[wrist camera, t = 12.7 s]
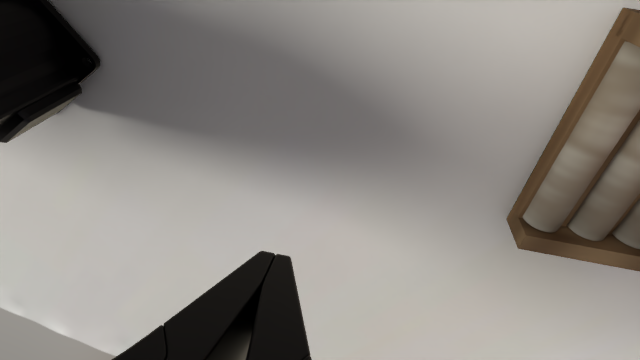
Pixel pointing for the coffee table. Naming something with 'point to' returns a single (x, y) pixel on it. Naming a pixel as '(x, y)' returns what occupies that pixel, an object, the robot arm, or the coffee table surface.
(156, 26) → the coffee table surface
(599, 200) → the roller track
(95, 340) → the coffee table surface
